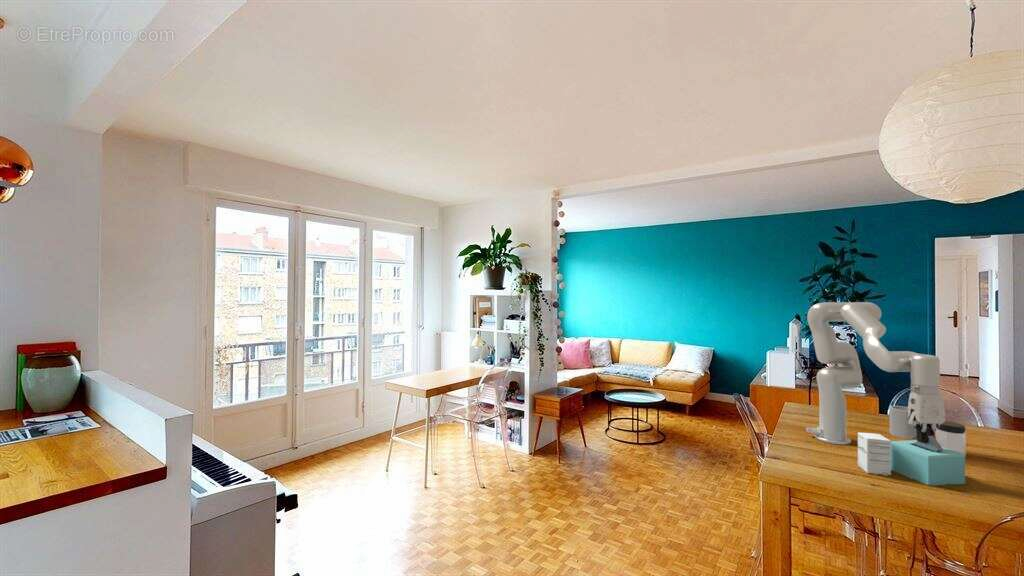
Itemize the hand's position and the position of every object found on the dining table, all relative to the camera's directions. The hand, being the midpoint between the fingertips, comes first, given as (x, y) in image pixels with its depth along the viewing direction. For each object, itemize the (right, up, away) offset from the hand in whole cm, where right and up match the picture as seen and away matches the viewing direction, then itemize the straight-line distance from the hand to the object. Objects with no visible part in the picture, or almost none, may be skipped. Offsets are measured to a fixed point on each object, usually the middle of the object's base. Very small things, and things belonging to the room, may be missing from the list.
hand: (925, 441), depth 154 cm
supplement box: (-15, -12, +4) cm, 20 cm away
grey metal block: (0, -3, -3) cm, 4 cm away
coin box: (0, -12, 0) cm, 12 cm away
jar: (+30, -12, +21) cm, 38 cm away
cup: (+31, -12, +43) cm, 55 cm away
